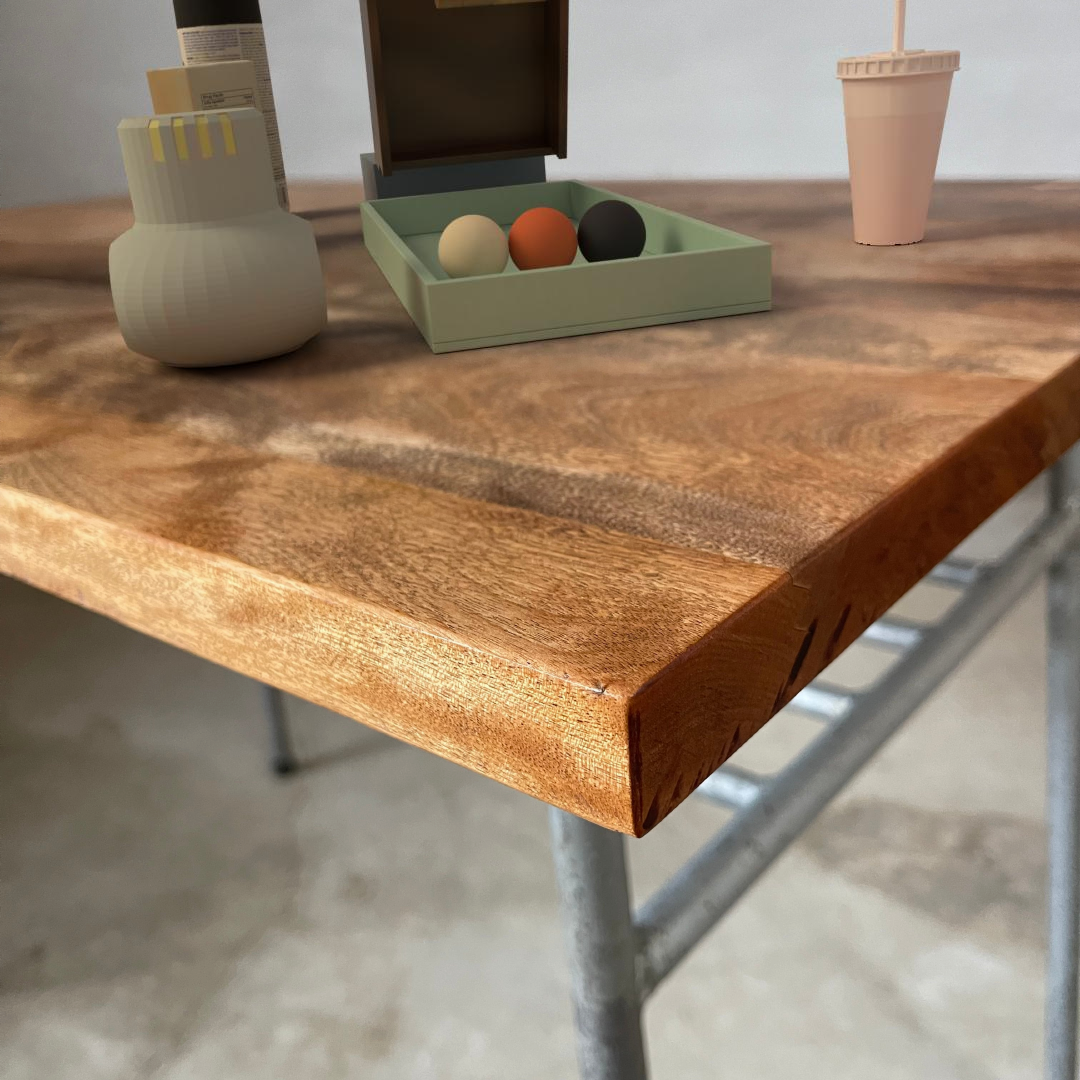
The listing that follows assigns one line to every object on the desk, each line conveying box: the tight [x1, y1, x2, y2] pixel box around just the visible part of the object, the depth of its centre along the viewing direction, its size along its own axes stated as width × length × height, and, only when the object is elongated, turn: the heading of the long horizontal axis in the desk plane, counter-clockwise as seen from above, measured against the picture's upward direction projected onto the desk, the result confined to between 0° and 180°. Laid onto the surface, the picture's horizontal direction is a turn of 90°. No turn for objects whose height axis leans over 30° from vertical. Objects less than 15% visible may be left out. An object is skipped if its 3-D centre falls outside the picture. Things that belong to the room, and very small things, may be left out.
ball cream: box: [438, 215, 509, 279], centre depth 57 cm, size 4×4×4 cm
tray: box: [358, 178, 773, 354], centre depth 62 cm, size 33×15×3 cm, turn 13°
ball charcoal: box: [577, 200, 646, 263], centre depth 58 cm, size 4×4×4 cm
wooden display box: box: [358, 0, 570, 177], centre depth 68 cm, size 14×12×12 cm
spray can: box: [172, 0, 291, 213], centre depth 90 cm, size 7×7×20 cm
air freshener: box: [108, 108, 328, 368], centre depth 48 cm, size 11×8×10 cm
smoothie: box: [834, 0, 962, 246], centre depth 61 cm, size 6×6×14 cm
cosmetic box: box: [145, 60, 262, 115], centre depth 78 cm, size 6×4×12 cm
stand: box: [359, 152, 547, 201], centre depth 84 cm, size 11×12×5 cm
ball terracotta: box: [508, 207, 578, 271], centre depth 57 cm, size 4×4×4 cm
